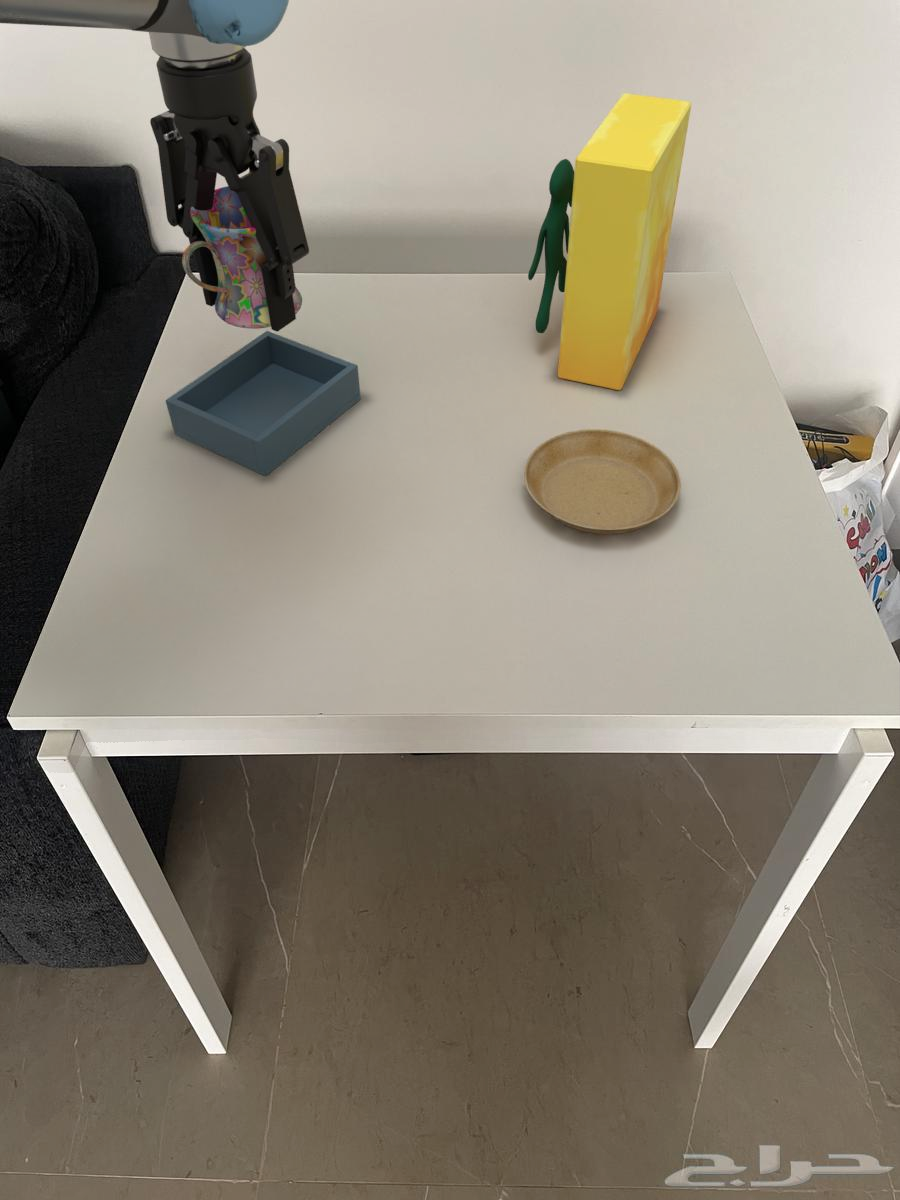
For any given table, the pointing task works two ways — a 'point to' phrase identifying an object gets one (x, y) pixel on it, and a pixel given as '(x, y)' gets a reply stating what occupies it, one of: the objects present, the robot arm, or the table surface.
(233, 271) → the mug
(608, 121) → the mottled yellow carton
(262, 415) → the tub
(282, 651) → the table surface
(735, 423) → the table surface
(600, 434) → the plant saucer
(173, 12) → the robot arm
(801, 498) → the table surface
